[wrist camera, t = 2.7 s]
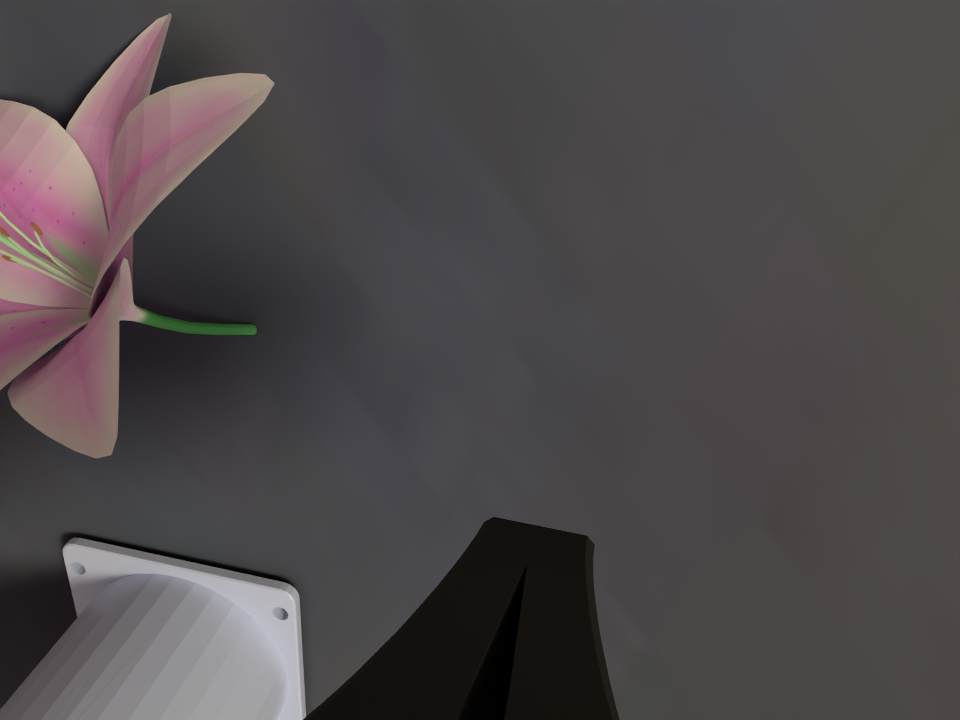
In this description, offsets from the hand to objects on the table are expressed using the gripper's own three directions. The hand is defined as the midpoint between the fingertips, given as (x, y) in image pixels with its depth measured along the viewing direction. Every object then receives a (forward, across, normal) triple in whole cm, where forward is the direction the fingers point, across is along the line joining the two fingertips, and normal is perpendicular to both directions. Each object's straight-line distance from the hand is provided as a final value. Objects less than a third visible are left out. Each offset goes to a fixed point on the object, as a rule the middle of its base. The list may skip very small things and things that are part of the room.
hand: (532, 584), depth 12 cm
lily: (+11, +11, 0) cm, 16 cm away
